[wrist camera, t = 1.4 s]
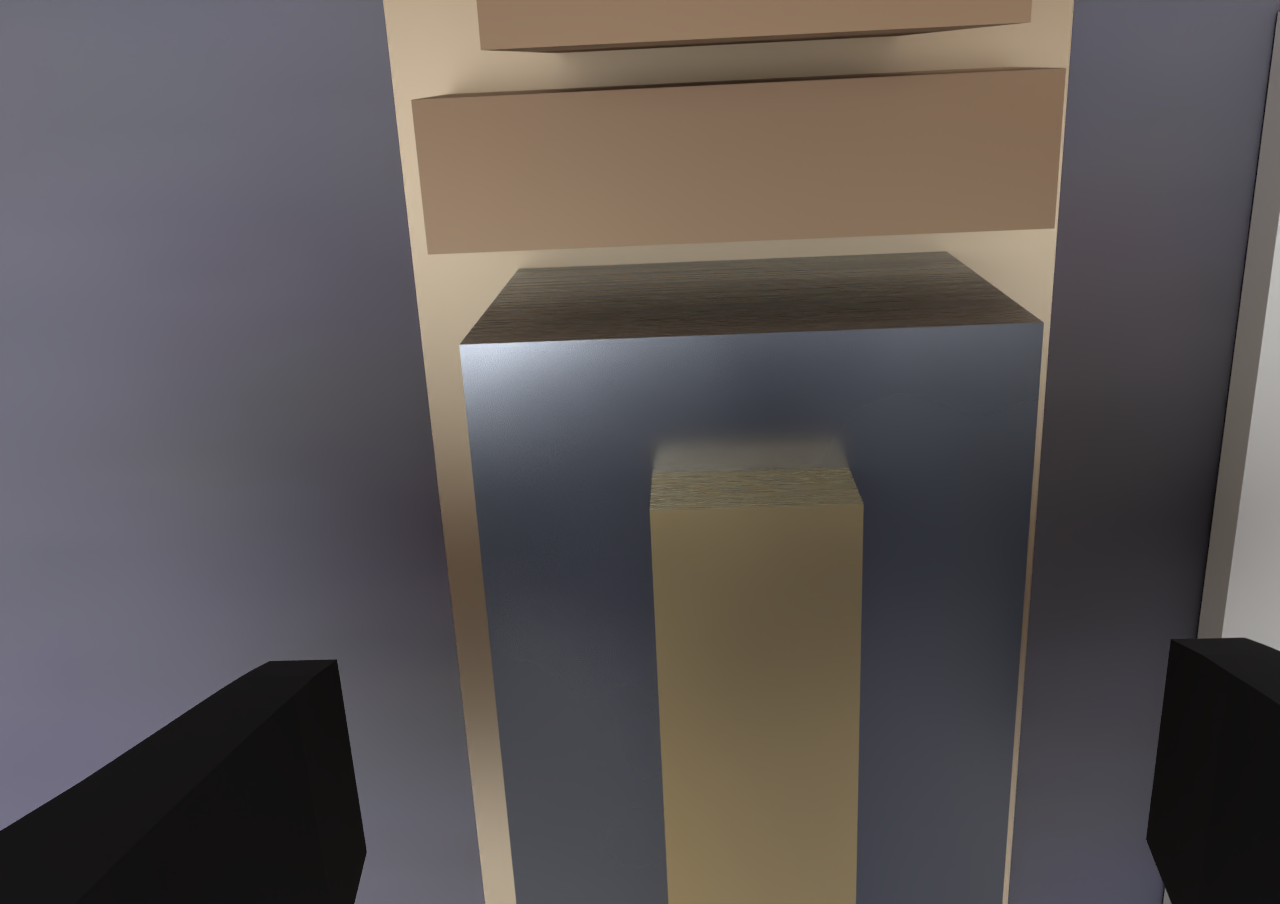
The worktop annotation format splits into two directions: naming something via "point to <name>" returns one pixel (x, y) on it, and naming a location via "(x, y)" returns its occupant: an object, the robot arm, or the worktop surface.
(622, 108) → the wooden block stand
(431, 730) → the worktop surface
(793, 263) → the lever cap
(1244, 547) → the white base plate
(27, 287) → the worktop surface
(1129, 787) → the worktop surface
